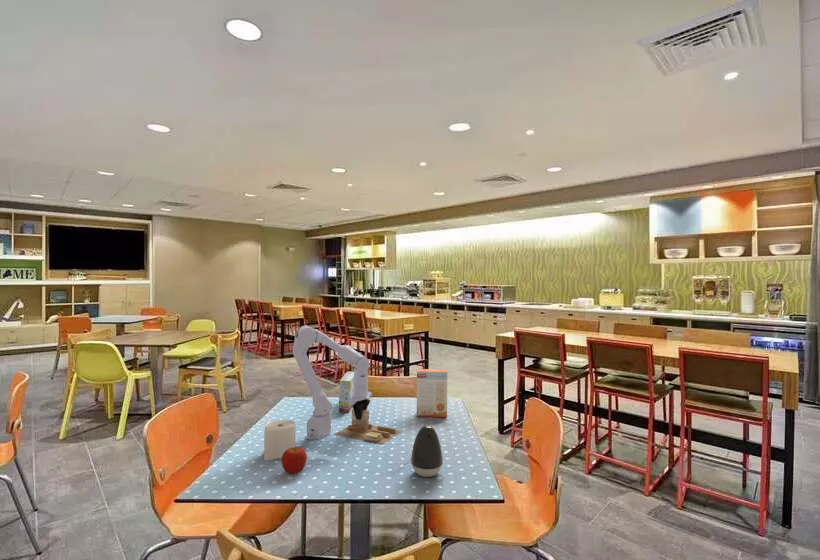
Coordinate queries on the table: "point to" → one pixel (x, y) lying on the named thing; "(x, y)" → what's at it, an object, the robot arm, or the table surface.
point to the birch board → (364, 420)
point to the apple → (294, 460)
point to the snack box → (346, 391)
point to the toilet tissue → (278, 438)
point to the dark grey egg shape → (426, 452)
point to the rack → (360, 432)
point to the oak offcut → (373, 435)
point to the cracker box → (432, 393)
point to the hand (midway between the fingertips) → (360, 418)
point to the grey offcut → (374, 439)
